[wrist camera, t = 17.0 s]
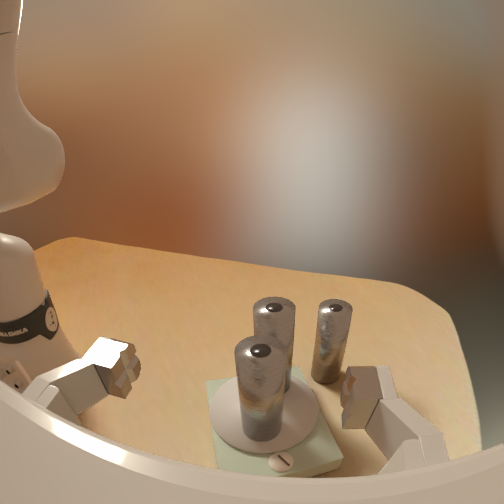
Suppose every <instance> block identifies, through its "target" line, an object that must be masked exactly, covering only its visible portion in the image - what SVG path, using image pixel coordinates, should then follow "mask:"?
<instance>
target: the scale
mask: <svg viewBox="0 0 504 504" xmlns="http://www.w3.org/2000/svg"><path fill="white" fill-rule="evenodd" d="M206 388H207V396H208V404H209V412H210V419H211V426H212V433H213V440H214V447H215V453H216V459H217V465H218V469H220V470H226V471H232V472H239V473H247V474H255V475H265V476H277V477H295V478H309V477H312V476H316V475H319V474H322V473H325V472H329V471H332V470H335V469H338V468H339V466H340V464H341V462H342V461H343V459H344V457H343V455H342V453H341V451H340V449H339V447H338V445H337V443H336V441H335V439H334V437H333V435H332V432H331V430H330V428H329V426H328V424H327V422H326V420H325V418H324V416H323V414H322V412H321V410H320V408H319V406H318V401H317V399H316V396H315V394H314V393H313V391H312V390H311V389H310V387H309V386H308V384H307V382H306V380H305V378H304V376H303V374H302V371H301V369H300V367H299V366H296V367H292V370H291V382H290V388H289V390H288V391H287V392H286V393H285V394H284V402H283V415H282V428H281V431H280V433H279V435H278V436H277V437H275V438H274V439H272V440H270V441H265V442H258V441H254V440H251V439H249V438H248V437H247V436H246V435H245V434H244V432H243V429H242V421H241V412H240V402H239V393H238V383H237V376H236V377H232V378H225V379H217V380H208V381H206Z"/></svg>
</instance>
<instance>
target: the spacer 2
mask: <svg viewBox="0 0 504 504" xmlns="http://www.w3.org/2000/svg"><path fill="white" fill-rule="evenodd" d="M286 353H287V350H286V346H285V345H284V343H283V342H282V341H280V340H279V339H277V338H275V337H272V336H268V335H255V336H250V337H247V338H245V339H243V340H242V341H240V342H239V343H238V344H237V346H236V348H235V362H236V373H237V383H238V393H239V402H240V412H241V421H242V429H243V432H244V434H245V435H246V436H247V437H248V438H249V439H251V440H254V441H258V442H265V441H270V440H272V439H274V438H275V437H277V436H278V435H279V433H280V431H281V428H282V415H283V402H284V387H285V371H286Z"/></svg>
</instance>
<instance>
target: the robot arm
mask: <svg viewBox="0 0 504 504" xmlns="http://www.w3.org/2000/svg"><path fill="white" fill-rule="evenodd" d="M22 2H23V0H0V213H1V212H4V211H7V210H10V209H13V208H17V207H20V206H23V205H27V204H30V203H31V202H33V201H35V200H37V199H39V198H41V197H43V196H45V195H47V194H49V193H51V192H53V191H54V190H55V189H56V188H57V186H58V184H59V182H60V180H61V178H62V174H63V171H64V165H65V154H64V149H63V146H62V143H61V141H60V139H59V137H58V136H57V134H55V132H54V131H53V130H52V129H50V128H49V127H47V126H45V125H43V124H41V123H40V122H39V121H37V120H36V119H35V118H34V117H33V116H32V115H31V114H30V113H29V112H28V111H27V109H26V108H25V106H24V104H23V103H22V100H21V98H20V95H19V92H18V88H17V82H16V51H17V41H18V31H19V25H20V19H21V11H22ZM135 352H136V349H135V346H134V344H131V343H128V342H124V341H120V340H116V339H111V338H108V337H104V336H102V337H99V339H98V340H97V341H96V342H95V343H94V344H93V346H92V347H91V348H90V349H89V350H88V352H87V353H86V354H85V355H84V356H83V358H82V357H81V355H80V354H79V353H78V352H77V351H76V350H75V348H74V347H73V346H72V345H71V343H70V342H69V340H68V339H67V337H66V335H65V334H64V332H63V330H62V329H61V327H60V325H59V322H58V318H57V315H56V311H55V308H54V306H53V303H52V300H51V298H50V295H49V293H48V291H47V290H46V289H45V288H44V285H43V282H42V278H41V275H40V272H39V268H38V265H37V261H36V258H35V254H34V251H33V249H32V248H31V246H30V245H29V244H28V243H27V242H26V241H24V240H23V239H21V238H18V237H15V236H11V235H6V234H2V233H0V504H504V443H502V444H499V445H497V446H494V447H492V448H489V449H486V450H483V451H480V452H477V453H474V454H471V455H468V456H465V457H462V458H458V459H455V460H451V461H450V460H449V456H448V452H447V448H446V445H445V441H444V438H443V434H442V433H441V432H440V431H439V430H438V429H437V428H436V427H435V426H433V425H432V424H431V423H430V422H429V421H428V420H426V419H425V418H424V417H423V416H422V415H421V414H419V413H418V412H417V411H416V410H415V409H414V408H413V407H411V406H410V405H409V404H408V403H407V402H406V401H405V400H403V399H402V398H398V396H397V393H396V389H395V385H394V382H393V378H392V375H391V371H390V368H389V366H388V365H385V366H348V368H347V371H346V380H345V381H344V382H343V384H342V388H341V406H342V407H343V408H344V410H343V412H342V428H343V429H365V431H366V432H367V434H368V435H369V436H370V437H371V439H372V440H373V441H374V443H375V444H376V445H377V446H378V448H379V449H380V450H381V452H382V453H383V454H384V455H385V457H386V458H387V459H388V460H389V461H388V462H387V463H386V464H385V466H384V467H383V468H382V469H381V470H380V471H379V472H378V474H377V475H368V476H356V477H339V478H295V477H277V476H265V475H255V474H247V473H239V472H232V471H226V470H220V469H214V468H209V467H204V466H199V465H195V464H190V463H186V462H182V461H178V460H174V459H170V458H166V457H163V456H159V455H156V454H152V453H149V452H146V451H143V450H140V449H137V448H134V447H131V446H128V445H125V444H122V443H120V442H117V441H114V440H112V439H109V438H107V437H104V436H102V435H99V434H97V433H95V432H92V431H90V430H88V429H86V428H83V427H82V423H81V422H80V420H79V419H78V417H77V415H79V414H80V413H82V412H83V411H85V410H87V409H88V408H90V407H91V406H93V405H94V404H96V403H97V402H99V401H100V400H102V399H103V398H105V397H106V396H108V394H109V395H113V396H116V397H120V398H123V399H126V397H127V395H128V394H129V392H130V390H131V389H132V385H131V383H132V382H134V381H136V380H137V379H138V377H139V375H140V370H141V364H140V360H139V358H138V357H137V356H136V355H135Z"/></svg>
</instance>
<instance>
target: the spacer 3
mask: <svg viewBox="0 0 504 504" xmlns="http://www.w3.org/2000/svg"><path fill="white" fill-rule="evenodd" d="M352 310H353V309H352V306H351V305H350V304H349V303H347V302H345V301H343V300H338V299H329V300H325V301H323V302H322V303H320V305H319V311H318V321H317V330H316V338H315V347H314V355H313V362H312V370H311V376H312V378H313V379H314V380H315V381H317V382H319V383H323V384H329V383H333V382H335V381H336V380H337V379H338V378H339V375H340V371H341V367H342V362H343V357H344V353H345V348H346V343H347V338H348V333H349V327H350V322H351V316H352Z"/></svg>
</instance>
